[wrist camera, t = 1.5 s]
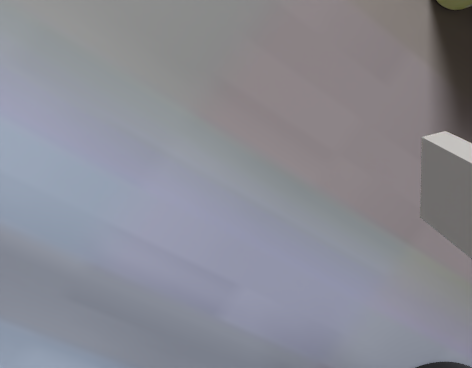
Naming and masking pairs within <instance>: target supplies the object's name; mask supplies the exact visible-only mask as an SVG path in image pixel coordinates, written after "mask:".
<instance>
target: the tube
mask: <svg viewBox="0 0 472 368" xmlns="http://www.w3.org/2000/svg"><path fill="white" fill-rule="evenodd" d="M437 2H438V3H439V4H440V5H442V6H443V7H445V8H447V9H451V10H460V9H464V8H467V7H470V6H472V0H437Z"/></svg>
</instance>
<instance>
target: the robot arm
mask: <svg viewBox="0 0 472 368" xmlns="http://www.w3.org/2000/svg"><path fill="white" fill-rule="evenodd" d="M420 218H422V219H423V220H424V221H425V222H426V223H428V224H429V225H430V226H431V227H433V228H434V229H435V230H436V231H438V232H439V233H440V234H441V235H443V236H444V237H445V238H446V239H448V240H449V241H450V242H451V243H453V244H454V245H455V246H456V247H458V248H459V249H460V250H461V251H462V252H464V253H465V254H466V255H467V256H469V257H470V258H471V259H472V143H470V142H468V141H466V140H464V139H461V138H459V137H457V136H455V135H453V134H451V133H449V132H446V131H444V132H440V133H436V134H432V135H428V136H424V137H422V156H421V206H420ZM416 368H472V367H470V366H467V365H464V364H460V363H454V362H436V363H430V364H425V365H422V366H419V367H416Z"/></svg>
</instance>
